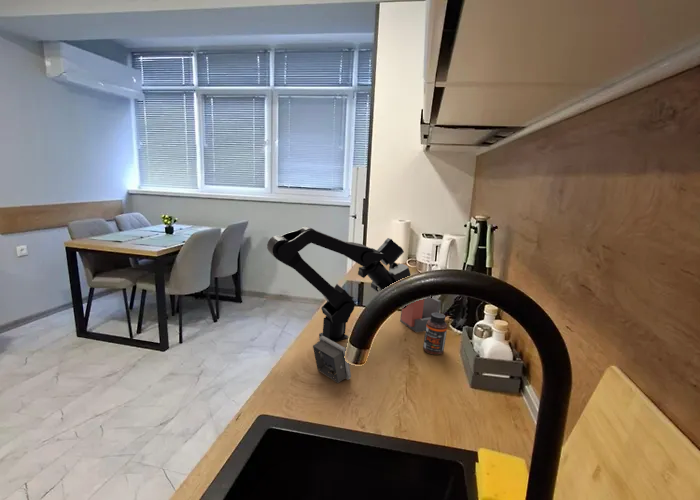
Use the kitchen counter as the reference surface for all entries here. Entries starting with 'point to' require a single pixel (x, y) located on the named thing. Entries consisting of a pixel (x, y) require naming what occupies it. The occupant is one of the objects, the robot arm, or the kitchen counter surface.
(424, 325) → the housing
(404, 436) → the kitchen counter surface
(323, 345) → the electrical switch
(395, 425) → the kitchen counter surface
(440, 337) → the supplement bottle
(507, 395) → the kitchen counter surface
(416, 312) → the pink block with dome
